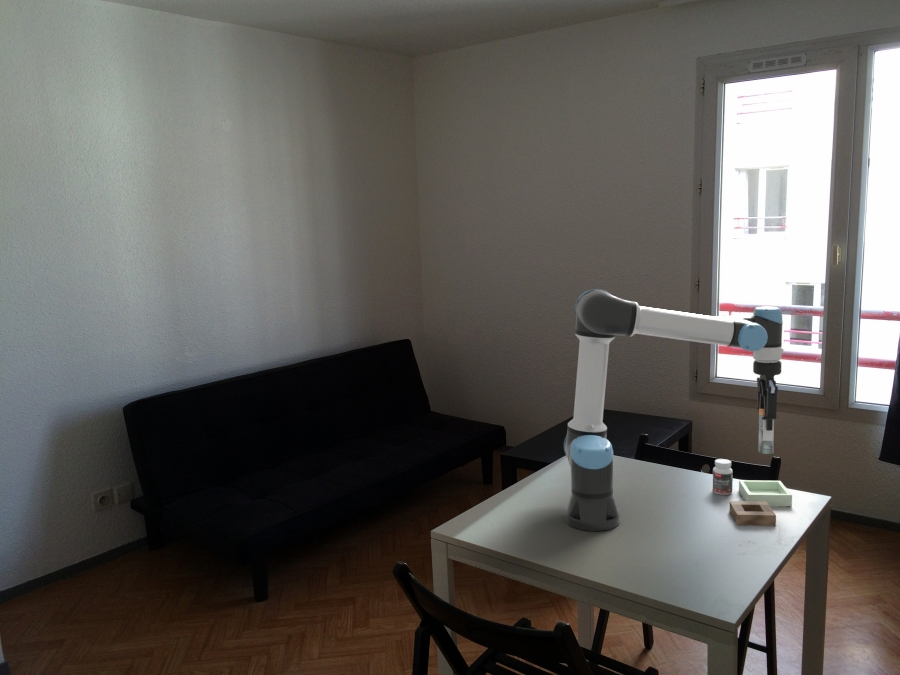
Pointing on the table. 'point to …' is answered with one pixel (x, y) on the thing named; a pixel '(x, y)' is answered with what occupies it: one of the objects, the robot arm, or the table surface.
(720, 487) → the pill bottle
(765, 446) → the pin
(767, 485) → the tray
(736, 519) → the socket
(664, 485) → the table surface
